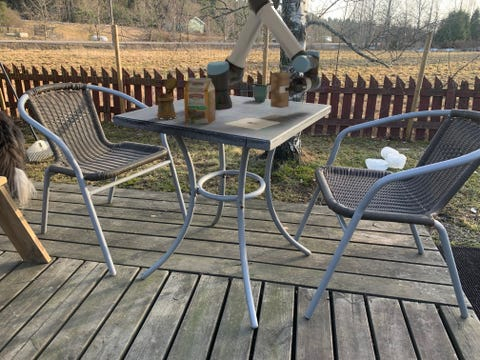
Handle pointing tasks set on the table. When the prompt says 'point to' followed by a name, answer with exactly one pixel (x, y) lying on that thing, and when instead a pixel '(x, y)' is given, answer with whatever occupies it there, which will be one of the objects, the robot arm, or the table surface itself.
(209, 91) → the milk carton
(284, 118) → the mat
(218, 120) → the table surface
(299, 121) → the table surface
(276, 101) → the walnut block
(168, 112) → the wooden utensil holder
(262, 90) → the flower pot
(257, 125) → the beige square pad
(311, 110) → the table surface
